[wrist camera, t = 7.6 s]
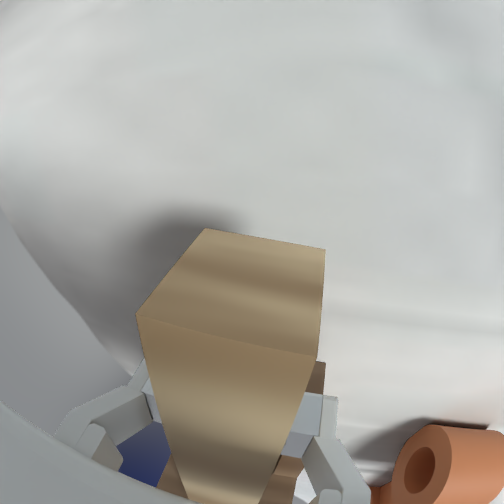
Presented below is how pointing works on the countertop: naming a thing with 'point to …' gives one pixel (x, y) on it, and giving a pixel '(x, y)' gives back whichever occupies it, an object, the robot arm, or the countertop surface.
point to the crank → (446, 468)
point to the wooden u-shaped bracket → (284, 474)
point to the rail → (232, 357)
